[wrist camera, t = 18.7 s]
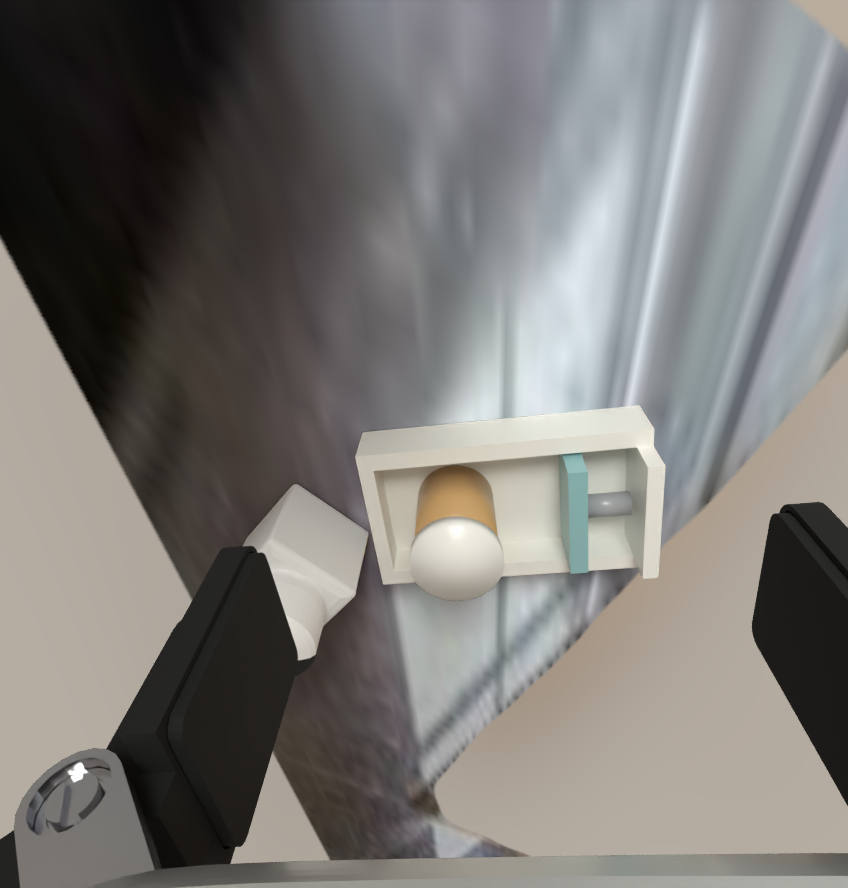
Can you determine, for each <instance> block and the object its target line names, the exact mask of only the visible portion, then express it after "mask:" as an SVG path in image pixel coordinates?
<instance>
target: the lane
mask: <svg viewBox="0 0 848 888" xmlns="http://www.w3.org/2000/svg"><path fill="white" fill-rule="evenodd" d="M653 445H654V428H653V426H652V425H651V423H650V421H649V420H648V418H647V417H646V415H645V414H644V412H643V410H642V409H641V407H640V406H639V405H638V406H628V407H618V408H607V409H597V410H587V411H577V412H566V413H556V414H546V415H535V416H525V417H515V418H505V419H494V420H484V421H474V422H464V423H453V424H443V425H433V426H422V427H412V428H402V429H392V430H381V431H371V432H363V434H362V437H361V440H360V443H359V446H358V450H357V453H356V456H355V458H356V463H357V467H358V472H359V477H360V481H361V486H362V490H363V495H364V499H365V504H366V508H367V513H368V518H369V522H370V527H371V531H372V536H373V540H374V545H375V550H376V554H377V559H378V563H379V568H380V572H381V577H382V581H383V585H386V584H400V583H415V580H414V579H413V577H412V575H411V571H410V566H409V560H410V550H411V545H412V542H413V540H414V538H415V527H416V516H417V504H418V493H419V489H420V486H421V484H422V482H423V481H424V479H425V478H426V477H427V476H428V475H429V474H430V473H432V472H433V471H435V470H437V469H439V468H442V467H445V466H452V465H460V466H466V467H469V468H472V469H474V470H476V471H478V472H479V473H481V474H482V475H483V476H484V477H485V478H486V479H487V481H488V482H489V484H490V486H491V488H492V492H493V500H494V509H495V517H496V525H497V534H498V538H499V540H500V542H501V544H502V549H503V556H504V570H503V574H502V576H501V577H504V576H518V575H533V574H548V573H563V572H570V570H569V566H568V562H567V558H566V554H565V550H564V546H563V541H562V537H561V511H560V480H559V454H570V453H581V454H582V457H583V460H584V463H585V465H586V468H587V471H588V494H596V493H608V492H620V491H629V492H630V494H631V497H632V504H633V512H632V515H622V516H609V517H597V518H588V571H592V570H607V569H622V568H637V567H638V568H639V571H640V573H641V576H642V578H643V579H646V578H658V572H659V557H660V542H661V527H662V512H663V497H664V482H665V467H666V466H665V465H664V463H663V461H662V460H661V458H660V456H659V454H658V453H657V451H656V449H655V448H654V446H653Z"/></svg>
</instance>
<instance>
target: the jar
mask: <svg viewBox="0 0 848 888" xmlns="http://www.w3.org/2000/svg"><path fill="white" fill-rule="evenodd" d="M409 566H410V571H411V575H412V577H413V579H414V580H415V582H416V583H417V584H418V585H419V586H420V587H421V588H422V589H423V590H424V591H426V592H427V593H429V594H431V595H433V596H435V597H438V598H441V599H445V600H451V601H463V600H470V599H473V598H476V597H479V596H481V595H483V594H485V593H487V592H488V591H490V590H491V589H492V588H493V587H494V586H495V585H496V584H497V583H498V581H499V580H500V578H501V576H502V574H503V570H504V556H503V549H502V544H501V542H500V540H499V538H498V534H497V525H496V517H495V509H494V500H493V492H492V488H491V486H490V484H489V482H488V481H487V479H486V478H485V477H484V476H483V475H482V474H481V473H479V472H478V471H476V470H474V469H472V468H469V467H466V466H460V465H452V466H445V467H442V468H439V469H437V470H435V471H433V472H432V473H430V474H429V475H428V476H427V477H426V478H425V479H424V481H423V482H422V484H421V486H420V489H419V493H418V504H417V516H416V527H415V538H414V540H413V542H412V545H411V550H410V560H409Z"/></svg>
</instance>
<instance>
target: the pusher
mask: <svg viewBox="0 0 848 888" xmlns="http://www.w3.org/2000/svg"><path fill="white" fill-rule="evenodd" d="M559 480H560V511H561V537H562V541H563V546H564V550H565V554H566V558H567V562H568V566H569V570H570V574H576V573H588V518H597V517H609V516H622V515H632V512H633V504H632V497H631V494H630V492H629V491H620V492H608V493H596V494H588V471H587V468H586V465H585V463H584V460H583V457H582V454H581V453H570V454H559Z"/></svg>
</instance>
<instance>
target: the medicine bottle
mask: <svg viewBox="0 0 848 888" xmlns="http://www.w3.org/2000/svg"><path fill="white" fill-rule="evenodd" d="M368 537H369V534H368V532H367V531H366V530H365V529H363V528H362V527H360V526H359V525H357V524H356V523H354V522H353V521H351V520H350V519H348V518H347V517H345V516H344V515H342V514H341V513H339V512H338V511H337V510H335V509H334V508H332V507H331V506H329V505H328V504H326V503H325V502H323V501H322V500H320V499H319V498H317V497H316V496H314V495H313V494H311V493H310V492H309V491H307V490H306V489H304V488H303V487H301V486H300V485H298V484H294V485H292V486H291V487H290V489H289V490H288V491H287V492H286V493H285V494H284V496H283V497H282V498H281V499H280V500H279V501H278V502H277V504H276V505H275V506H274V507H273V508H272V509H271V511H270V512H269V513H268V514H267V515H266V516H265V517H264V519H263V520H262V521H261V522H260V523H259V524H258V526H257V527H256V528H255V529H254V530H253V531H252V533H251V534H250V535H249V536H248V537H247V539H246V541H245V543H244V545H243V546H254V547H255V549H256V550H257V552H258V553H260V552H262V553H264V554H265V555H266V558H267V560H268V563H269V566H270V569H271V572H272V575H273V578H274V581H275V584H276V587H277V590H278V593H279V596H280V600H281V603H282V606H283V609H284V612H285V615H286V618H287V621H288V624H289V627H290V630H291V633H292V636H293V639H294V642H295V645H296V648H297V652H298V665H297V670H296V673H295V676H297V675H299V674H301V673H303V672H304V671H306V670H307V669H308V668H309V667H310V666H311V664H312V663H313V661H314V658H315V655H316V651H317V647H318V644H319V640H320V636H321V632H322V629H323V626H324V625H325V624H326V623H327V622H328V621H329V620H330V619H331V618H333V617H334V616H335V615H336V614H337V613H338V612H339V611H340V610H341V609H342V608H343V607H344V606H345V605H346V604H347V603H348V602H349V601H351V600H352V599H353V598H354V597H355V595H356V592H357V588H358V583H359V578H360V574H361V569H362V565H363V560H364V556H365V551H366V547H367V542H368Z"/></svg>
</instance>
